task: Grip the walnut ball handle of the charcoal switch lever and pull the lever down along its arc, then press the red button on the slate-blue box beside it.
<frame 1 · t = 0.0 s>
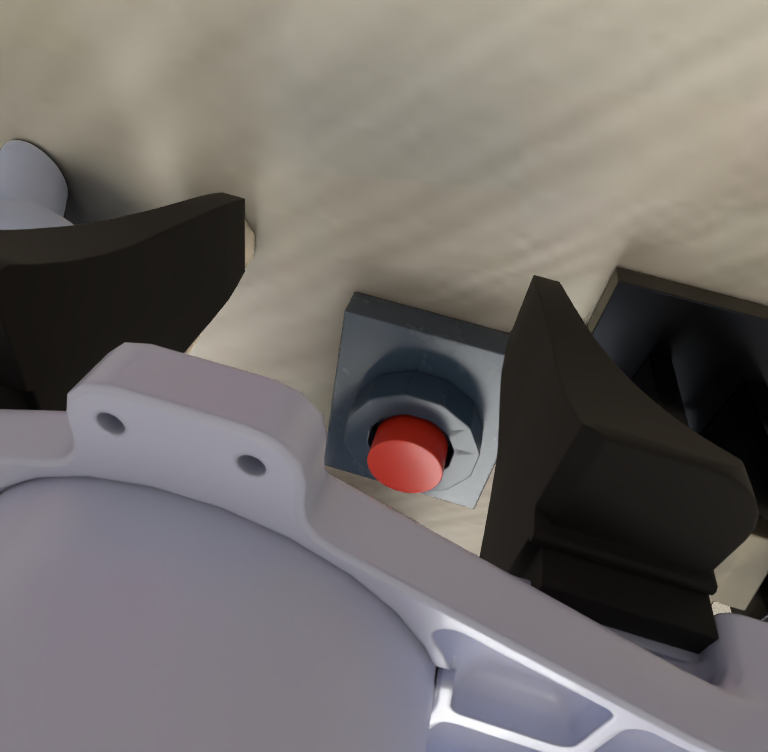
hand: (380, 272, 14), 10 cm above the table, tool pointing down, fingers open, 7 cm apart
lever: (665, 638, 21), point 10 cm above the table, hinge at 20.0°
button box: (422, 399, 30), on the table
switch bracket: (677, 388, 26), on the table
button: (407, 454, 27), point 4 cm above the table, slide at 0.1 cm
milkshake: (225, 225, 26), on the table
hippopotamus toy: (86, 273, 30), on the table
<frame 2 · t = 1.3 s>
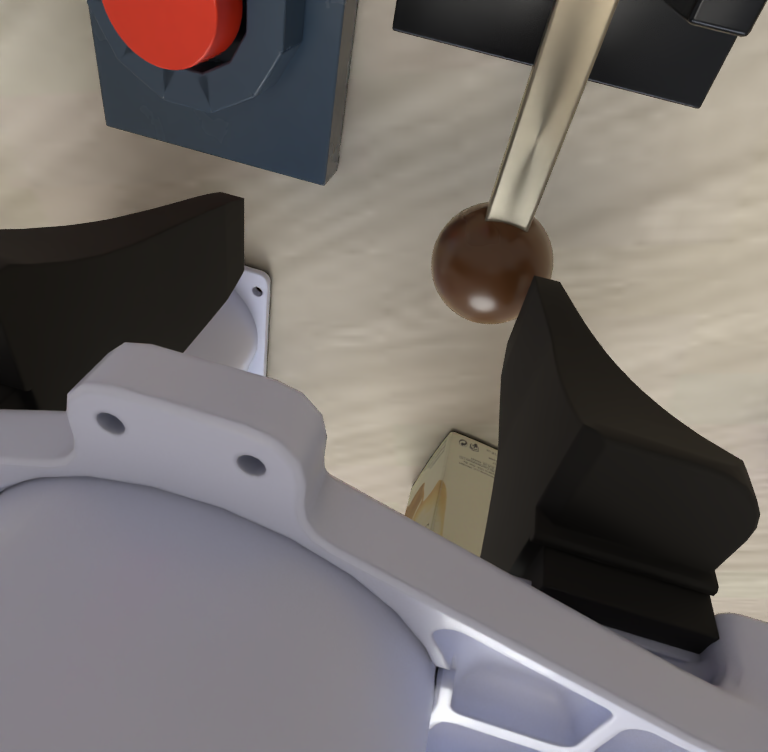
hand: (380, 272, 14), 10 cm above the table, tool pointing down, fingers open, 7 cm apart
lever: (547, 105, 12), point 8 cm above the table, hinge at -4.3°
cosmetic box: (462, 472, 32), on the table
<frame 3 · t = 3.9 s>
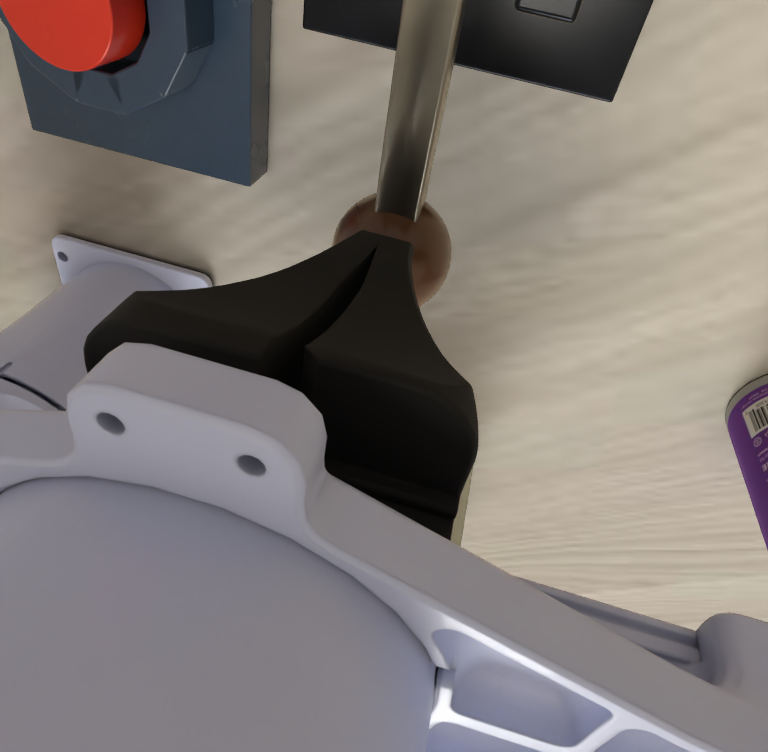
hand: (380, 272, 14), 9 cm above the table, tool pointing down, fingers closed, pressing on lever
lever: (419, 95, 12), point 8 cm above the table, hinge at -7.2°, touching gripper
cosmetic box: (418, 474, 32), on the table
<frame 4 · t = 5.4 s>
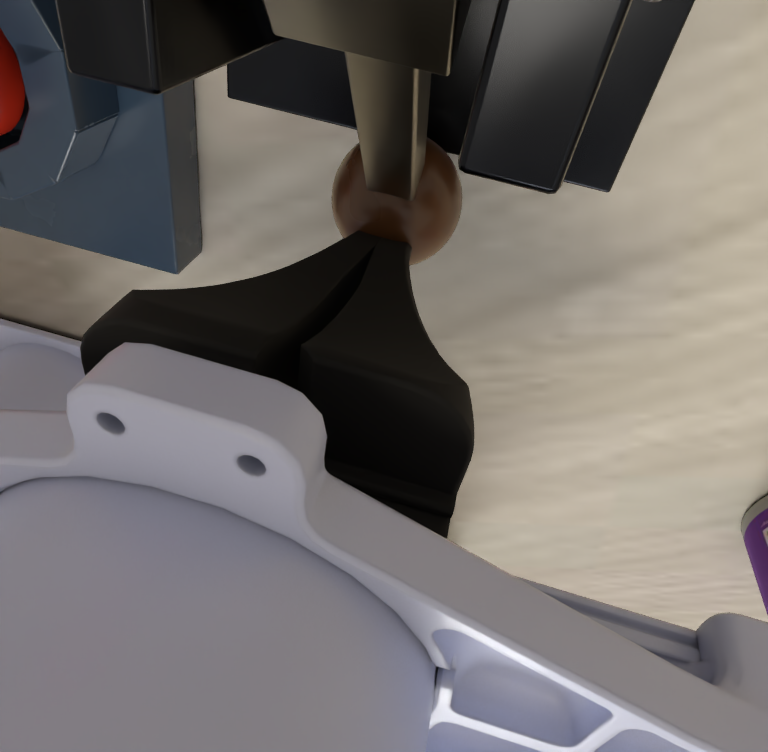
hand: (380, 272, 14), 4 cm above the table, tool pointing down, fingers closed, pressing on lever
lever: (392, 105, 10), point 5 cm above the table, hinge at -45.3°, touching gripper, switch bracket
button box: (42, 37, 16), on the table
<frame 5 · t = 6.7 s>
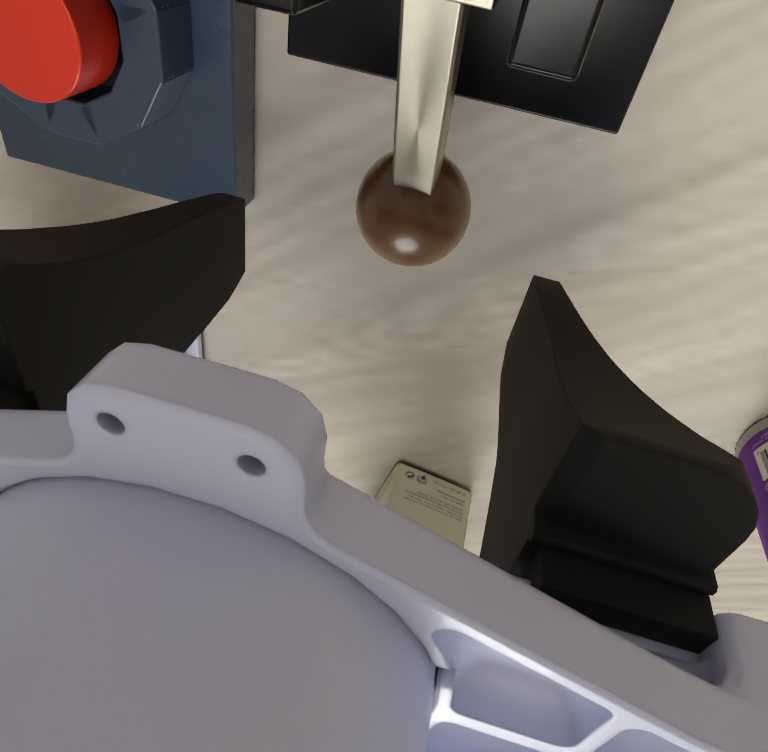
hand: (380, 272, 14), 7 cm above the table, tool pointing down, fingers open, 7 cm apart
lever: (426, 90, 12), point 6 cm above the table, hinge at -30.6°
button box: (124, 4, 18), on the table
cosmetic box: (415, 503, 31), on the table
button: (38, 23, 15), point 4 cm above the table, slide at 0.1 cm
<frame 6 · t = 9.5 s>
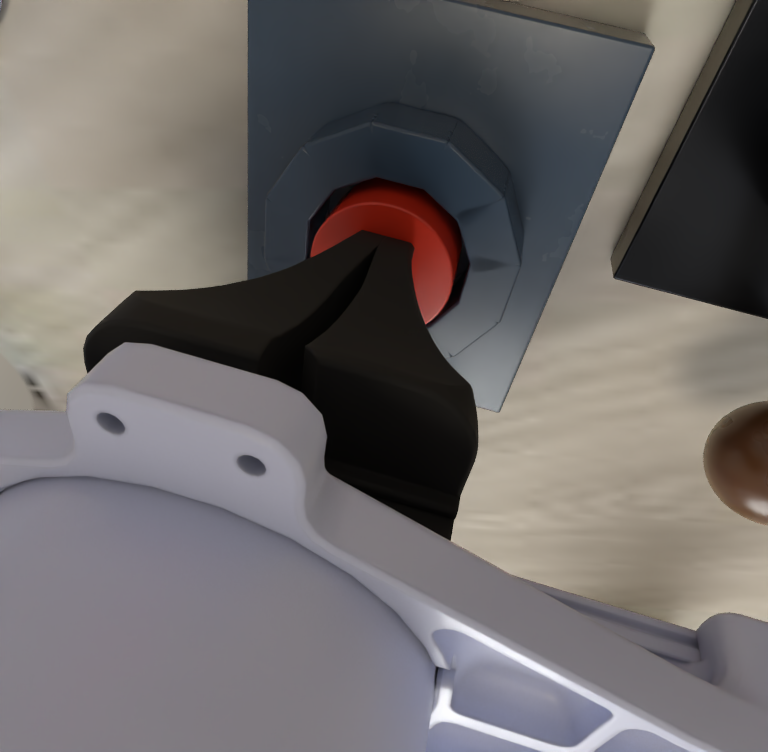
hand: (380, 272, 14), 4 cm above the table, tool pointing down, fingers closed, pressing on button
button box: (411, 207, 17), on the table
button: (387, 257, 14), point 3 cm above the table, slide at -0.7 cm, touching gripper
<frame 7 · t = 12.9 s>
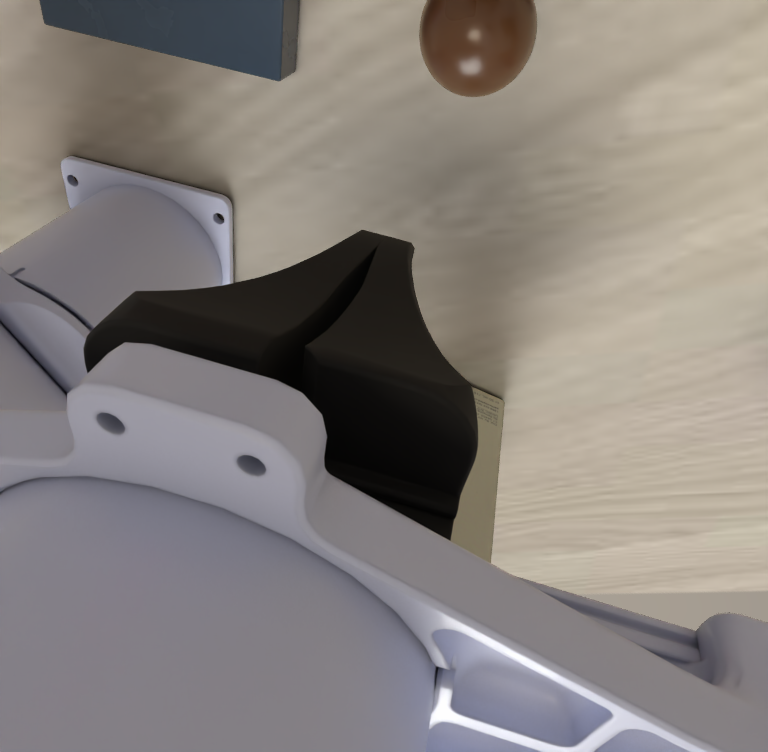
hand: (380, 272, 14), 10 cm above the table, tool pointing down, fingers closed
cosmetic box: (445, 419, 31), on the table
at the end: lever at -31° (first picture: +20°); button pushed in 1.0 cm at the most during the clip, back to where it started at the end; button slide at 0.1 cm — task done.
